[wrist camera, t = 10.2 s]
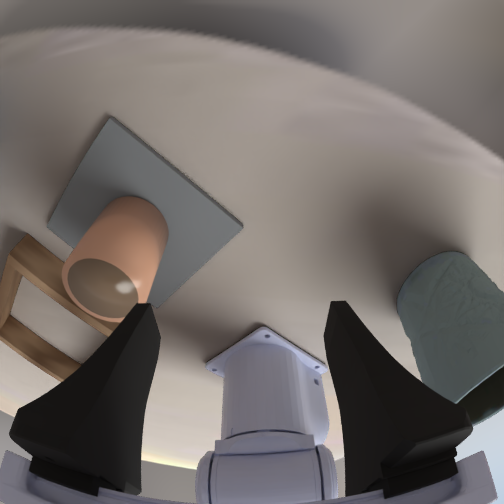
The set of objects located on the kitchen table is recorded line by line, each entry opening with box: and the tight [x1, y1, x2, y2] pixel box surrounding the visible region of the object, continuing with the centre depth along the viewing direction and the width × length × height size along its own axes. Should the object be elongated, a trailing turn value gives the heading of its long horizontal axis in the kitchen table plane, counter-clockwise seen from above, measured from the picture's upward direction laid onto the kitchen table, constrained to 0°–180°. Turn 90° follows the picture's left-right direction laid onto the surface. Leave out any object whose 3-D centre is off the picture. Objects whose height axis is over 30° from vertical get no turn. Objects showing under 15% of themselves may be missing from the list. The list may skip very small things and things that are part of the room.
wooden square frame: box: [0, 234, 121, 382], centre depth 25 cm, size 14×14×3 cm
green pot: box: [397, 251, 504, 426], centre depth 19 cm, size 10×10×12 cm
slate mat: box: [47, 117, 243, 308], centre depth 20 cm, size 11×10×1 cm
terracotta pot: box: [62, 196, 169, 322], centre depth 17 cm, size 5×5×6 cm
